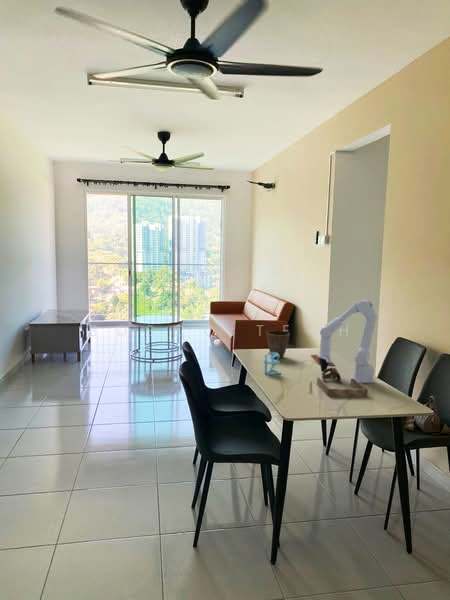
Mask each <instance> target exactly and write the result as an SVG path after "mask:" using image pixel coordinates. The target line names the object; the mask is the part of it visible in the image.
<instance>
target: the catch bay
mask: <svg viewBox="0 0 450 600" xmlns="http://www.w3.org/2000/svg"><path fill="white" fill-rule="evenodd" d="M316 385H317V386H318V388H319V389H321V390H322V392H323V393H324V394H325V395H326V396H327V397H334V398H335V397H346V398H347V397H349V398H350V397H352V398H353V397H355V398H356V397H360V398H363V397H364V398H365V397H368V393H369V392H368V391H369V390H368V389H367V388H366V387H365V386H364V385H363V384H361V383H359V382H357V381H356V380H355V379H354V378H351V377H350V386H351V387H352V388H331V387H329V386H328V385H327V384H326V382H325V381H324V380H323V379H321V378H320V377H317V378H316Z"/></svg>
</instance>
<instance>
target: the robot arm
mask: <svg viewBox="0 0 450 600" xmlns="http://www.w3.org/2000/svg"><path fill="white" fill-rule="evenodd" d="M357 313H360V314H362V316H364V317H365V319H366V321H365V324H364V329H363V334H362V337H361V342H360V346H359V350H358V353H357V355H355V357H354V367H353V368H354V371H353V376H351V377H350V379H351V378H354V379H355V380H356V381H357V382H359V383H360V384H361V383H363V384H365V383H368V384H369V383H372V384H373V383H374V371H375V370H374V366H373V365H372V364H369V362H368V361H369V360H370V357H371V356H370V348H371V344H372V339H373V334H374V329H375V326H376V321H377V313H376V310H375V308H374V305H373V303H372V302H371V301H370V300H369V299H367V298H364V299H361V300H358V301H357V303H354V304H353V305H351V306H350V307H349V308H348V309H347V310H345V312H343V313H342V314H341V315H340V316H339V317H333V318H332V319H331V321H330V322H328V324H325V325H324V327H322V328H321V329H320V332H319V335H320V341H319V342H320V345H319V352H318V354H316V355H317V357H320V358H321V359H319V362H320V365H321V366H320V365H319V366H320V371H321V372H322V373H323V371H324V370H326V369H328V368H329V366H328V364H329V363H331V362H332V360H331V347H332V346H331V345H332V335H333V334H334V333H335V332H337V331H338V330H339V329H340V328H341V327H342V326H343V322H345V321H346V320H347V319H348V318H349V317H351V316H352V315H353V314H357Z"/></svg>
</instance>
